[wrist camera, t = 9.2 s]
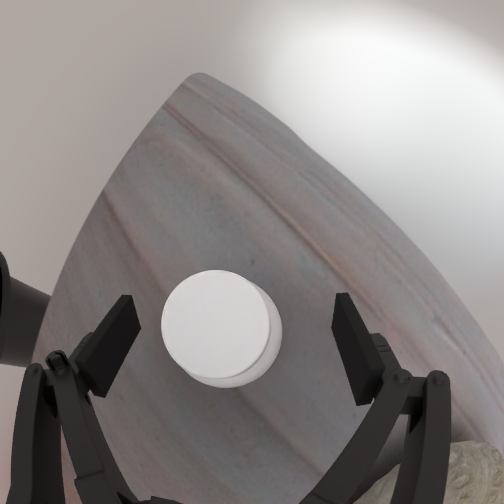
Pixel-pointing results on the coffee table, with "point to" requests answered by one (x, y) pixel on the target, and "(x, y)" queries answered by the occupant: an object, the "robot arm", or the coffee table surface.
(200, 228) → the coffee table surface
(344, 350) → the robot arm
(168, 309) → the pill bottle
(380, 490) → the beige rounded piece
